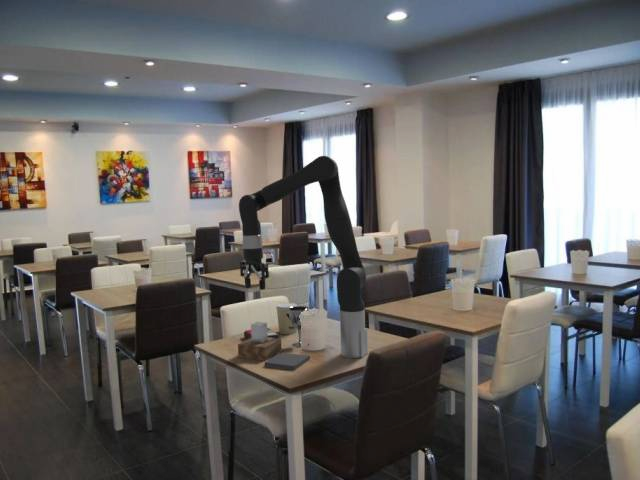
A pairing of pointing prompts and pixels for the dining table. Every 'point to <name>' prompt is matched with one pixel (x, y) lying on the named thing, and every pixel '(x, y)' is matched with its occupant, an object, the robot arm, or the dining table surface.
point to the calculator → (269, 333)
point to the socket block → (259, 349)
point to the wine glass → (297, 320)
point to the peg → (259, 332)
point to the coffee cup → (285, 318)
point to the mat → (287, 361)
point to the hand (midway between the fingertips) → (255, 288)
